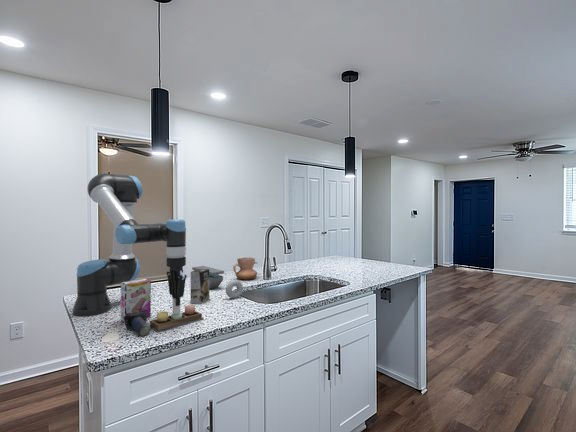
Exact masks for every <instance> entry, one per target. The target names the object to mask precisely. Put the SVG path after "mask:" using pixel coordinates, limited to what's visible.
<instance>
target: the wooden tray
mask: <svg viewBox="0 0 576 432" xmlns="http://www.w3.org/2000/svg"><path fill="white" fill-rule="evenodd" d="M181 313H182V318H180V319H176V320H172V319H171V315H168V320H166V321H157V318H156V319H152V320H150V321H149V324H148V325H149V326H150V330H152V331H154V332H156V333H161V332H165V331H168V330H171V329H172V330H173V329H174V328H175V327H176V328H178V327H181V326H182V325H183V326H186V325H190V324H192V323H196V322H200V321H203V320H204V317H203V314H202V313H201V312H199V311H197V310H195V313H193V314H185V311H184V312H183V311H182V312H181ZM176 328H175V329H176Z"/></svg>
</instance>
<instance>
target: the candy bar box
mask: <svg viewBox="0 0 576 432" xmlns="http://www.w3.org/2000/svg"><path fill="white" fill-rule="evenodd" d="M151 289H152V280H150V279H147V278H142V279H137V280H136V279H135V280H134V281H129V282H123V283H120V322H123V323H124V324H125V322H127V321H124V318H123V317H124V316H125V315H126V314H134V313H139V312H142V311H143V310H146V313H147V318H149V317H151V309H152V306H151V303H152V301H151V300H152V297H151V295H152V291H151ZM126 316H127V315H126ZM126 316H125V317H126Z"/></svg>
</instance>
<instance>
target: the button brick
mask: <svg viewBox="0 0 576 432" xmlns="http://www.w3.org/2000/svg"><path fill="white" fill-rule="evenodd" d="M195 311H196V306H195V304H189V305H185V306H184V312H185V314H193V313H195Z"/></svg>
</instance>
